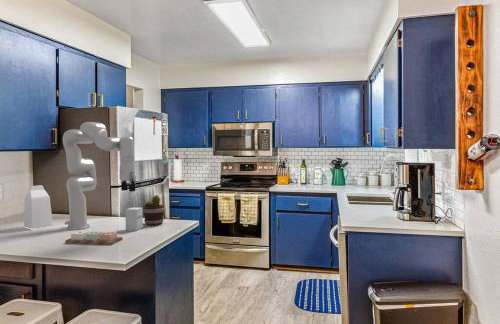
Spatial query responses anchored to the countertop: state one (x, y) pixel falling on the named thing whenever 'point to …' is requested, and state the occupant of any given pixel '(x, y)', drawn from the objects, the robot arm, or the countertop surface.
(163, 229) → the countertop surface
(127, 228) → the supplement box
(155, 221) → the flowerpot
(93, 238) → the tile two
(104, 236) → the tile three
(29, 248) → the countertop surface
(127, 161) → the robot arm
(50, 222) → the milk
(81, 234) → the tile one
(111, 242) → the board
